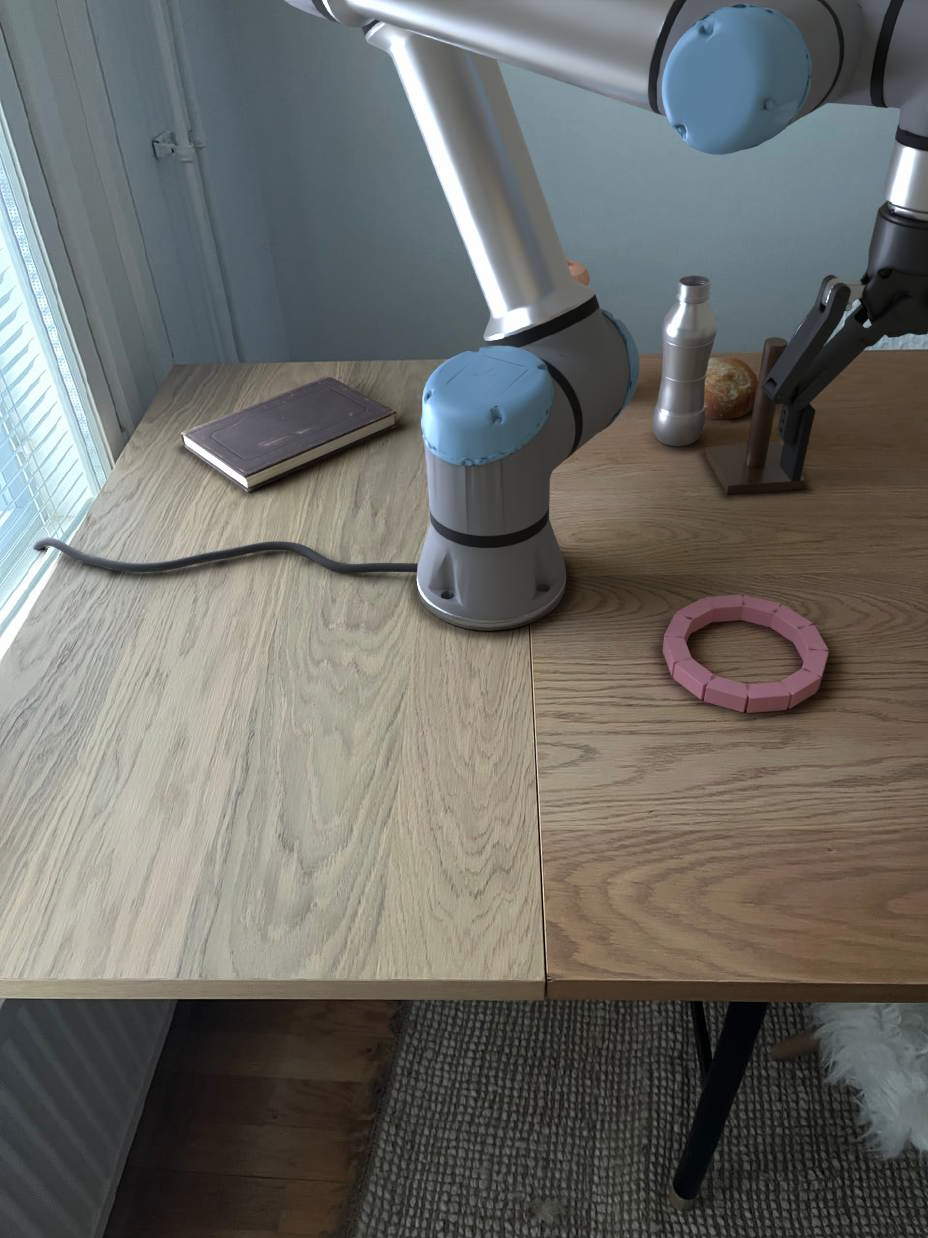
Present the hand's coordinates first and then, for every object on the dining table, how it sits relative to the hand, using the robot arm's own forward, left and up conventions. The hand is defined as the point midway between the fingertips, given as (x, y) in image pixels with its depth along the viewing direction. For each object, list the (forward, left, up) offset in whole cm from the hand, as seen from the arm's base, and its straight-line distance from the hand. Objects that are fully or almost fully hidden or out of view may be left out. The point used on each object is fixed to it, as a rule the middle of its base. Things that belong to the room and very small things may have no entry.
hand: (866, 465), depth 81 cm
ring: (-10, -5, -17) cm, 20 cm away
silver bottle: (-6, +36, -17) cm, 40 cm away
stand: (+1, +27, -17) cm, 32 cm away
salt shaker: (-19, +49, -17) cm, 55 cm away
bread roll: (+2, +45, -17) cm, 48 cm away
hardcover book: (-55, +44, -17) cm, 72 cm away
